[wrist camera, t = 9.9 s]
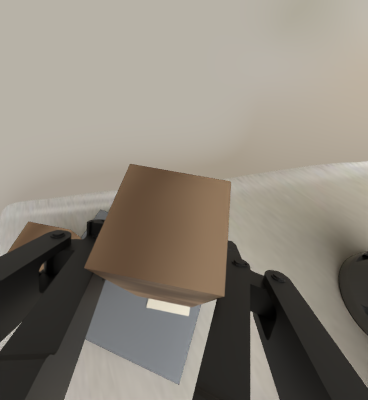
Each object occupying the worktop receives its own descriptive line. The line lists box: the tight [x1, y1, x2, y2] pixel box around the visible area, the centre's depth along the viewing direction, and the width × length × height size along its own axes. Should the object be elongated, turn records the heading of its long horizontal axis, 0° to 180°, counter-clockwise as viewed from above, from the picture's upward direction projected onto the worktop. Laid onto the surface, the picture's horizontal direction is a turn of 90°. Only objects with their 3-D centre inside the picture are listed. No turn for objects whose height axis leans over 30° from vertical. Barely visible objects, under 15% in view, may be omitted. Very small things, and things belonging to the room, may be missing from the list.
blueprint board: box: [81, 210, 201, 385], centre depth 30 cm, size 23×18×1 cm
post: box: [84, 164, 231, 307], centre depth 13 cm, size 5×5×12 cm
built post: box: [7, 222, 81, 272], centre depth 25 cm, size 5×5×12 cm
